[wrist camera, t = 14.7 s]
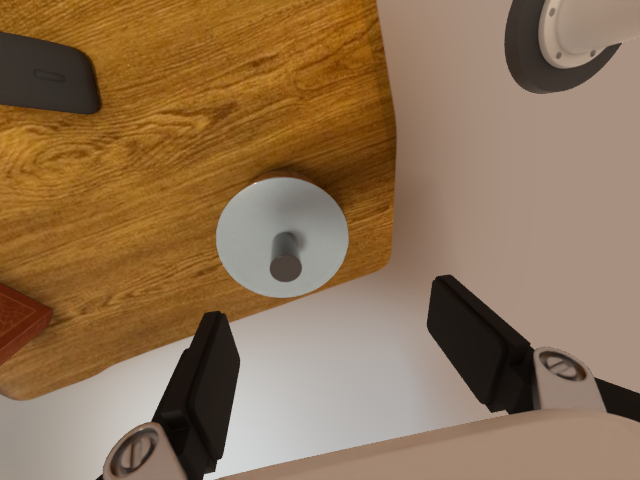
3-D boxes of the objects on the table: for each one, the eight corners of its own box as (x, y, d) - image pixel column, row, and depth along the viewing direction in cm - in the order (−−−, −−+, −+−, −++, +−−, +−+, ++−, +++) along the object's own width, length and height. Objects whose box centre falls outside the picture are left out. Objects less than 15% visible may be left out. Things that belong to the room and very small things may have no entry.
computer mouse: (103, 116, 28) (78, 114, 25) (-15, 102, 26) (-62, 97, 23) (89, 51, 26) (58, 38, 22) (-42, 30, 24) (-100, 11, 20)
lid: (343, 168, 26) (362, 179, 20) (348, 282, 32) (363, 317, 26) (202, 183, 25) (176, 200, 19) (234, 300, 31) (223, 341, 25)
